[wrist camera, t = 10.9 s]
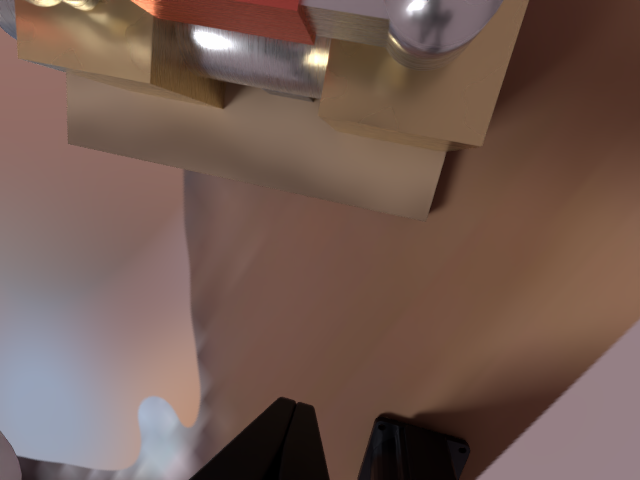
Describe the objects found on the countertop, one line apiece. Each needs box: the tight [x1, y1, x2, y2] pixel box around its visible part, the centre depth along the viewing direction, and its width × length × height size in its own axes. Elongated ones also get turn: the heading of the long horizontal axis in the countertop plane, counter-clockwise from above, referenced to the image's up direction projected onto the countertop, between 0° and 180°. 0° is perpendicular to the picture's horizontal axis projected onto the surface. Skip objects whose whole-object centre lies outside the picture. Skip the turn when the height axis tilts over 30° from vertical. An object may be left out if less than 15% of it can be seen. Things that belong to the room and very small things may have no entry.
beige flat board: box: [66, 73, 447, 222], centre depth 17 cm, size 13×22×2 cm, turn 79°
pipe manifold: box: [0, 0, 529, 152], centre depth 12 cm, size 6×23×10 cm, turn 79°
